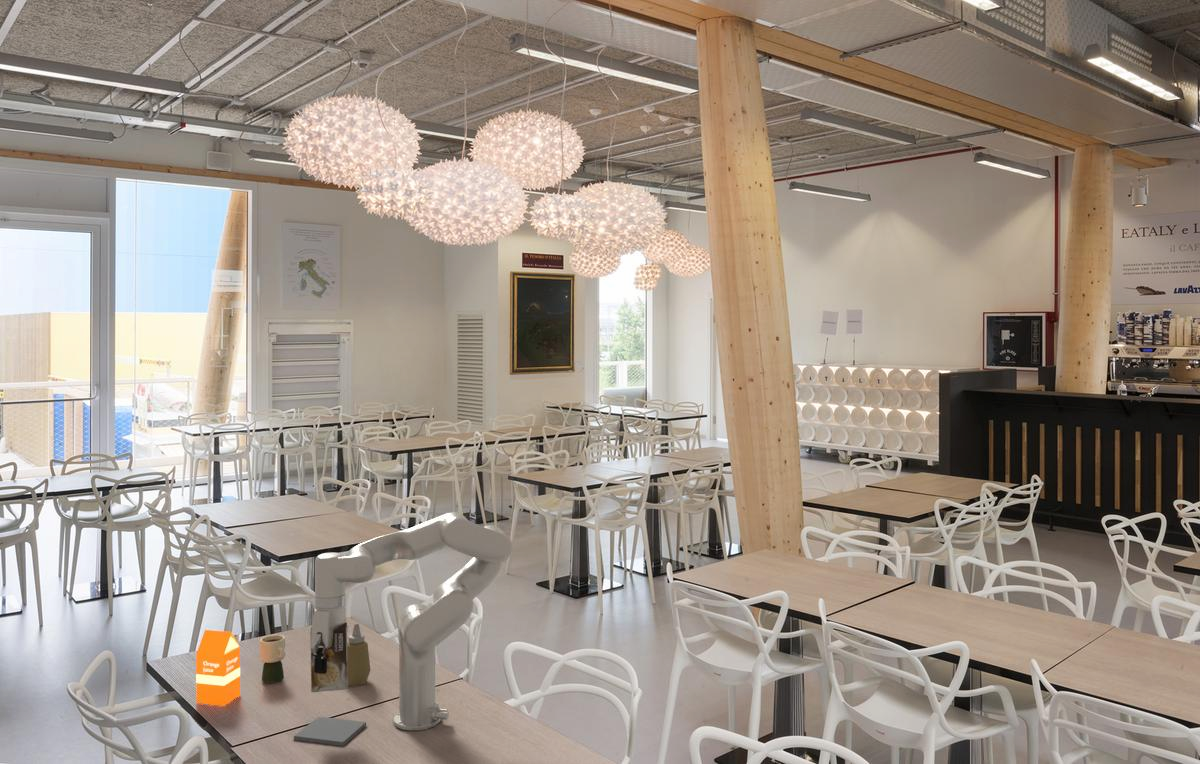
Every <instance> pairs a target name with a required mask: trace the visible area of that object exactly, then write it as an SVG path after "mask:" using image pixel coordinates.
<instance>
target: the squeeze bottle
mask: <svg viewBox="0 0 1200 764" xmlns="http://www.w3.org/2000/svg"><path fill="white" fill-rule="evenodd" d="M365 638H366V637H365V634H363V633H361V629H360V625H359V623H358V622H356V623H354V625H353V628H352V633H351V634H349V635H348V641H347V658H348V686H350V687H357V686H363V685H365V684H366V683H367V681H368V679H369V675H370V673H371V665H370V662H371V661H370V653H369V646H368V645H369V644H368V642H367V641H365Z"/></svg>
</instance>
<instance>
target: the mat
mask: <svg viewBox="0 0 1200 764" xmlns="http://www.w3.org/2000/svg"><path fill="white" fill-rule="evenodd" d="M366 726H367V722H366V721H361V720H360V721H359V720H353V719H343V718H334V717H327V716H317V717H316V718H315V719H314V720H313V721H311V722H309V724H307V725H306V726H305V727H304V728H302V729H300V731H298V732H297V733H295V734H294V735H293V740H295V741H301V740H302V741H304V742H310V743H316V742H317V743H318V744H325V745H333V746H339V747H341V746H342V747H343V746H345V745H346V744H348V742H350V740H352V739H353V738H354V737H355V736H356V735H358V734H359V733H360V732H361V731H362V730H363V729H364V728H365V727H366Z"/></svg>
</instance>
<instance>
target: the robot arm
mask: <svg viewBox="0 0 1200 764" xmlns="http://www.w3.org/2000/svg"><path fill="white" fill-rule="evenodd" d="M445 548H449V549H451V550H454V551H456V552H458V553H461V554H463V555H466V556H469V557H471V558H470V560H469V561H468V562H466V564H465V565H464V566H462V568H460V569H459V570H458V571H456V572H455V573H454V574H453V575H451V576H450V577H449V578H448V579H446V580H444V582H442V583H441V584H440V585H438V586H437V587H436V588H435V590H434V592H433V595H432V604H430V606H426V605H425V604H422V603H413V604H410V605H408V606H406V607H405V608H404V609H403V610H402V612H401V614H400V615H399V617H398V622H397V623H398V625H397V628H398V631H397V632H398V646H399V647H398V650H399V651H398V653H399V658H398V659H399V663H398V664H399V665H398V666H399V669H398V670H399V676H398V679H399V682H398V683H399V685H398V688H399V689H398V690H399V692H398V693H399V695H398V698H399V703H398V704H399V705H398V707H399V711H398V712H397V713H396V714H395V715H394V716H393V724H394V726H395V727H396V728H398V729H399V730H404V731H422V730H429V729H430V728H433V727H435V726H437V725H438V724H440V722H441V720H443V721H444V720H446V721H447V720H448V719H449V710H448V708H440V704H439V701H436V647H437V646H438V645H439V644H441V643H442V642H443V641H445V639H448V637H449V636H451V635H452V634H453V633H454V632H456V631H457V630H458V629H459V628H460V627H462V626H463V625H464V624H465V623H466V622H468V620H469V618H470V617H471V615H472V613H473V610H474V599H475V598H476V597H477V596H479V595H480V594H481V593H482V592H483V591H485V590H486V589H487V587H488V588H489V586H490V585H491V584H492V583H493V582H494V581H495V579H496V578H497V576H498V574H499V573H500V570H501V567H502V564H503V563H504V562H506V561H507V560H509V558H510V557H511V555H512V553H513V542H512V540H511V538H510V537H509V536H508V534H506V533H505V532H504V531H503V530H502V529H501V528H499V526H497V525H493V524H485V526H482V525H479V524H478V523H475V522H472V521H470V520H469V519H467V517H466V516H465V515H464V514H462V513H460V512H457V511H451V512H446V513H444V514H441V515H439V516H436V517H434V518H432V519H428V520H427V521H424V522H422V523H419V524H417V525H415V526H412V527H408V528H407V529H404V530H399V531H395V532H392V533H389V534H384V535H383V534H382V535H381V536H378V537H375V538H372V539H369V540H367V541H365V542H362V543H359V544H357V545H355V546H353V547H352V548H350V549H349V550H348V551H347V552H346V554H345V555H343V554H342V553H340V552H324V553H323V552H322V553H321V554H318V555H317V556H316V557H315V560H314V611H313V614H312V615H313V616H312V623H311V624H312V625H311V627H312V634H311V638H310V646H309V649H310V652H311V651H312V655H313V658H314V672H315V673H320V674H325V673H327V658H325V656H326V653H327V649H328V648H330V647H331V646H332V641H333V631H334V630H335V629H337V628H338V627H340V626H341V625H343V624H344V623H346V622H347V618H346V616H347V615H346V608H345V606H346V583H354V584H355V583H356V584H362V583H366V582H369V581H370V580H371V579H373V577H374V576H375V574H376V569H377V566H380V565H383V564H385V563H389V562H392V561H395V560H396V561H397V560H406V561H407V560H409V561H412V560H413V561H414V560H418V559H419V560H420V559H422V558H424V557H426V556H429V555H431V554H433V553H436V552H438V551H440V550H443V549H445ZM348 630H349V625H348V624H347V632H348ZM321 640H322V641H323V643H324V644H325V646H321V645H319V643H320V642H321ZM319 649H323V652H322V653H321V652H320V650H319Z"/></svg>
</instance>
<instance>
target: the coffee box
mask: <svg viewBox="0 0 1200 764" xmlns="http://www.w3.org/2000/svg"><path fill="white" fill-rule="evenodd" d="M347 625H348V623H347V621H346V623H344V624H343V625H341V626H340V627H338V628H337V629H335V630H334V631H333V641H332V646H331V647H330V648H328V649H327V653H326V656H325V658H327V673H325V674H320V673H315V672H314V658H313V655H312V651H311V650H310V679H311V681H310V682H311V683H310V684H311V686H310V687H311V688H310V693H318V692H319V693H320V692H321V693H322V692H330V691H331V692H333V691H344V690H348V687H349V685H348V658H347V643H348V631H347ZM311 634H312V626H311V628H310V635H309V636H310V639H311ZM319 645H321V646H325V644H324V643H323V641H322V640H321V642H320V643H319ZM319 650H320V652H321V653H322V652H323V649H319Z"/></svg>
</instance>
